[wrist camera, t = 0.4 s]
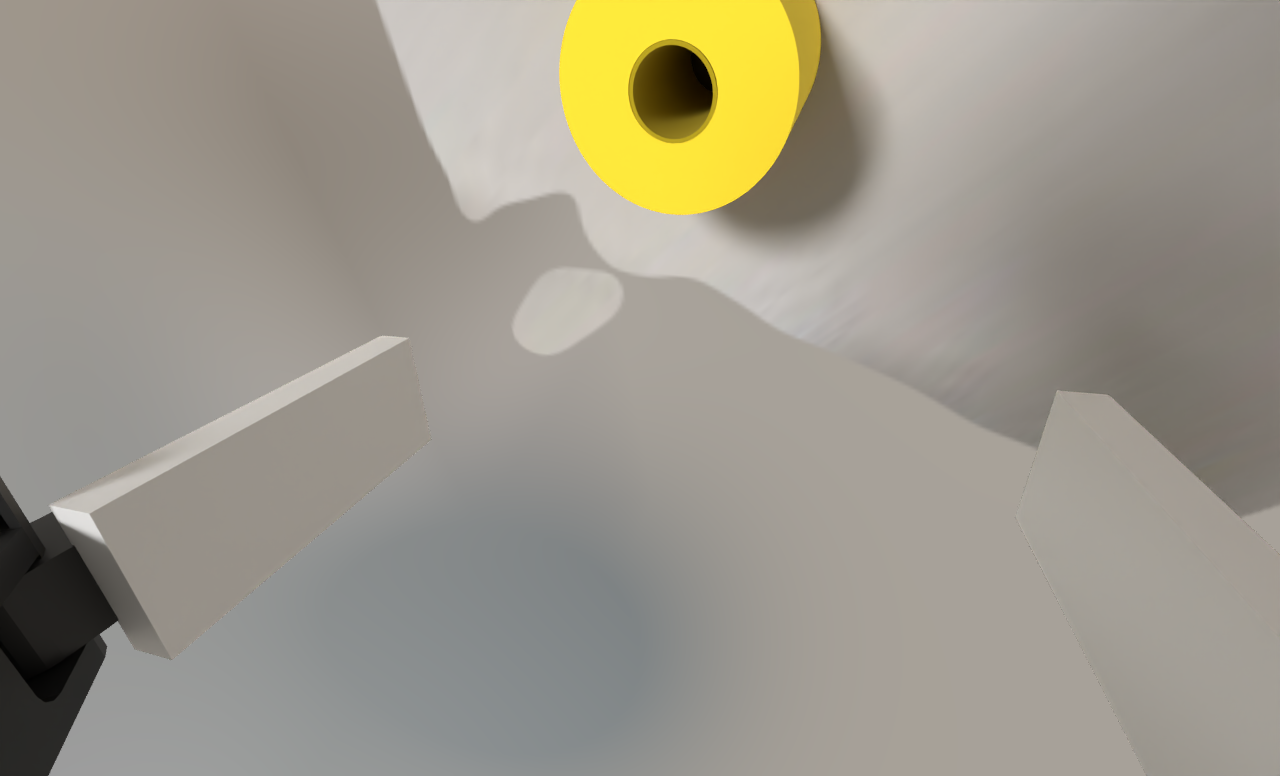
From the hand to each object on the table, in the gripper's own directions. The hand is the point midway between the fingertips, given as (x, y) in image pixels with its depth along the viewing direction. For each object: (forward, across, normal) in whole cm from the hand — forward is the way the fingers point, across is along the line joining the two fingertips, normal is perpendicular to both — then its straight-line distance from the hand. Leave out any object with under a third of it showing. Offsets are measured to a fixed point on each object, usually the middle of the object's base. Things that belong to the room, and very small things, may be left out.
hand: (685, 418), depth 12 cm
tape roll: (+24, -3, +9) cm, 26 cm away
